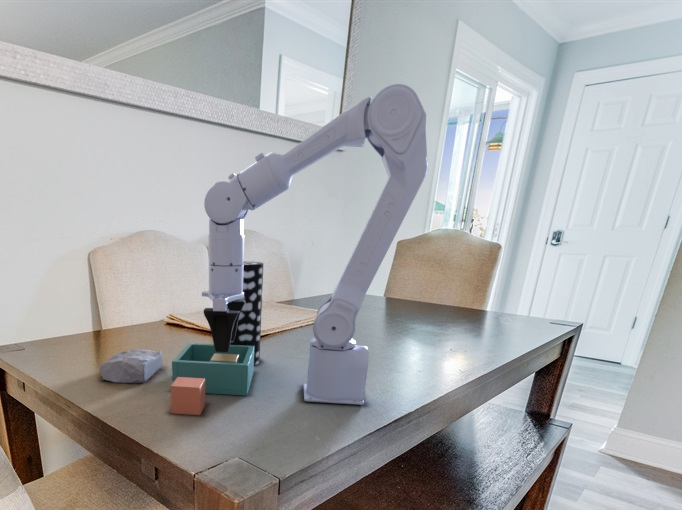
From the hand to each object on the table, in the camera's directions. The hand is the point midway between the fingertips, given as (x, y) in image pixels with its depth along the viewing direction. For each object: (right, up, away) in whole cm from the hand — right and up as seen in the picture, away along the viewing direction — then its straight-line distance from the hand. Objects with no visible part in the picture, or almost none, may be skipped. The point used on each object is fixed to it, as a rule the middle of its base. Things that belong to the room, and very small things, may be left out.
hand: (225, 345), depth 80 cm
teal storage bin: (-2, -6, +5) cm, 8 cm away
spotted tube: (+4, -1, +17) cm, 18 cm away
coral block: (-6, -11, -8) cm, 15 cm away
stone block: (-18, -4, +9) cm, 21 cm away
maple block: (0, -6, +3) cm, 7 cm away
